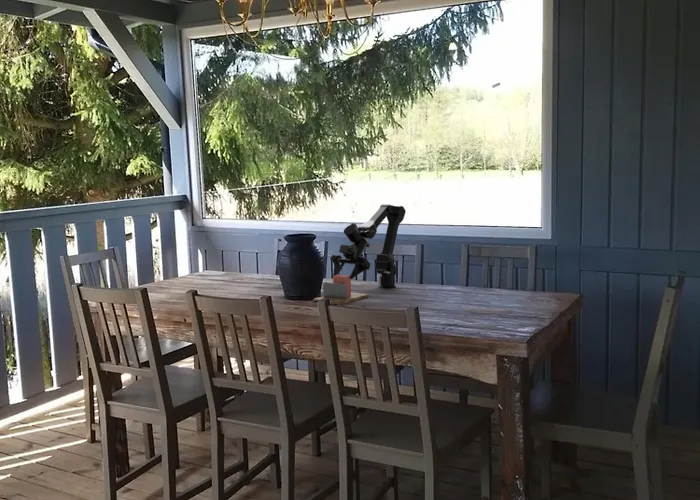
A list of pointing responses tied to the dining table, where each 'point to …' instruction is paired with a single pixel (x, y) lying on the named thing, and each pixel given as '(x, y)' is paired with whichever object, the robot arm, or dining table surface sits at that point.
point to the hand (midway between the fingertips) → (342, 277)
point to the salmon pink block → (343, 282)
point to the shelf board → (349, 299)
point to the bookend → (334, 290)
